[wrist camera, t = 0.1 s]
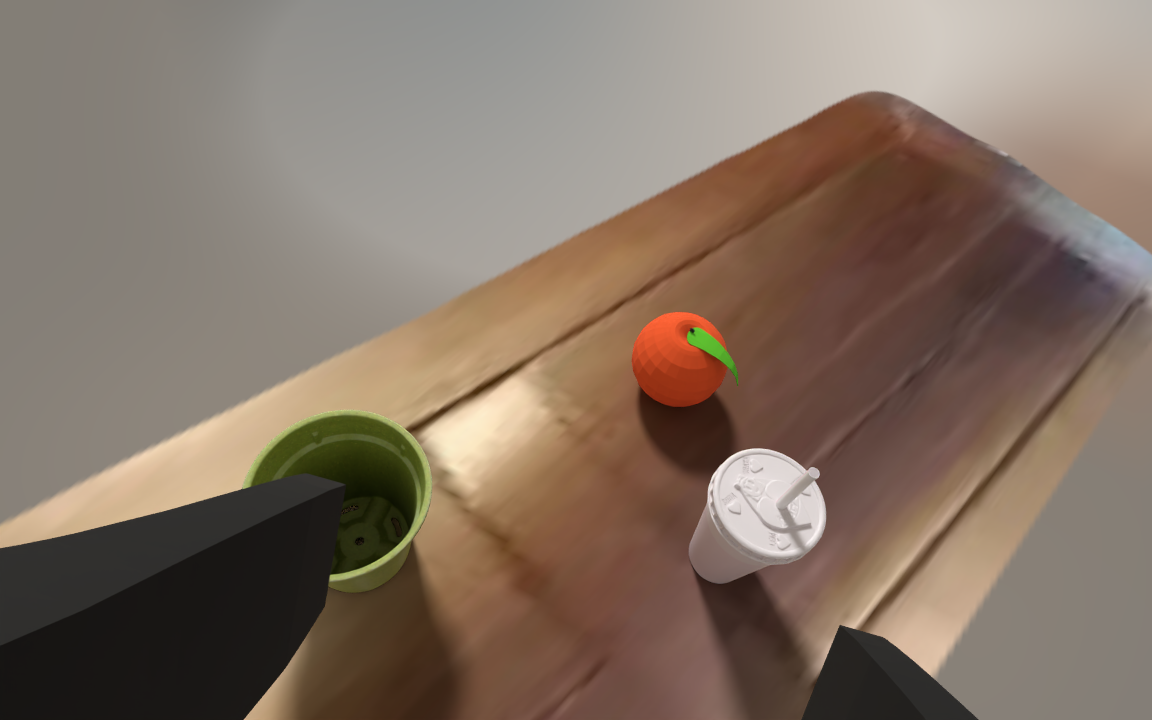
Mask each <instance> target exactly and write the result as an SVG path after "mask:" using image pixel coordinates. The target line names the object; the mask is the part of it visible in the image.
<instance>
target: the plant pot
mask: <svg viewBox="0 0 1152 720" xmlns="http://www.w3.org/2000/svg"><path fill="white" fill-rule="evenodd" d="M305 473H307V474H311V475H314V476H318V477H321V478H325V479H328V480H332V481H335V482H339V483H342V484H346V489H345V495H344V501H343V506H342V510H343V509H345V508H347V507H349V506H353V505H355V506H358V507H359V508H358V509H356V510H353V511H349V512H347V513H345V514H343V515H341V517H340V523H339V529H338V534H337V540H336V545H335V551H334V557H333V562H332V568H331V573H330V579H329V584H328V586H329V587H331V588H333V589H335V590H338V591H342V592H347V593H358V592H364V591H369V590H372V589H375V588H377V587H379V586H381V585H382V584H384V583H385V582H387V581H388V580H390V579H391V578H392V577H393V576H394V575H395V574H396V573H397V572H398V571H399V570H400V568H401V567H402V565H403V564H404V562H405V560H406V558H407V556H408V553H409V550H410V546H411V541H412V540H413V538H414V537H415V536H416V534H417V533H418V531H419V530H420V528H421V526H422V524H423V522H424V520H425V518H426V515H427V512H428V509H429V506H430V501H431V496H432V476H431V470H430V466H429V463H428V460H427V457H426V455H425V453H424V451H423V450H422V448H421V446H420V445H419V443H418V442H417V441H416V439H415V438H414V437H413V436H412V435H411V434H410V433H409V432H408V431H407V430H405V429H404V428H403V427H402V426H400V425H399V424H397V423H396V422H394V421H392V420H390V419H388V418H386V417H383V416H381V415H378V414H376V413H371V412H367V411H361V410H337V411H329V412H324V413H320V414H317V415H314V416H311V417H308V418H306V419H303V420H301V421H299V422H297V423H295V424H293V425H292V426H290V427H289V428H287V429H286V430H284V431H283V432H281V433H280V434H279V435H278V436H276V437H275V438H274V439H273V440H271V442H270V443H268V444H267V446H266V447H265V448H264V449H263V450H262V451H261V453H260V454H259V455H258V456H257V458H256V460H255V461H254V463H253V464H252V466H251V468H250V470H249V472H248V474H247V476H246V478H245V481H244V484H243V487H242V489H245V488H248V487H252V486H255V485H259V484H262V483H266V482H270V481H273V480H277V479H281V478H285V477H289V476H294V475H299V474H305ZM391 518H396V519H397V520H398V521H399V525H400V527H401V530H402V535H401V536H400V537H398V536H397V534H396V530H395V527H394V525H393V523H392V522H391ZM359 537H363V539H364V542H363V544H360V545H357V544H356V543H355V541H356V539H357V538H359Z"/></svg>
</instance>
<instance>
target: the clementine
mask: <svg viewBox="0 0 1152 720" xmlns="http://www.w3.org/2000/svg"><path fill="white" fill-rule="evenodd" d="M632 366H633V371H634V374H635V376H636V379H637V381H638V383H639V385H640V387H641V388H642V389H643V390H644V392H645V393H646V394H648V395H649V396H650V397H651V398H653V399H654V400H656V401H658V402H660V403H662V404H665V405H669V406H673V407H686V406H690V405H694V404H697V403H700V402H702V401H704V400H706V399H707V398H709V397H710V396H711V395H712V394H713V393H714V392H715V391H716V389H717V388H718V387H719V386H720V385H721V383H722V381H723V379H724V377H725V374H726V371H727V367H728V368H729V369H730V370H731V371H732V373H733V374H734V376H735V377H736V382H737V386H738V373H737V370H736V367H735V364H734V362H733V361H732V359H731V357H730V356H729V354H728V353H727V349H726V345H725V341H724V340H723V338H722V336H721V334H720V333H719V332H718V330H717V329H716V328H715V327H714V326H713V325H712V324H711V323H710V322H708V321H707V320H706V319H704V318H702V317H700V316H698V315H695V314H691V313H685V312H674V313H669V314H664V315H662V316H660V317H658V318H656V319H654V320H653V321H651V322H650V323H649V324H648V325H647V326H646V327H644V328H643V330H642V331H641V333H640V335H639V336H638V338H637V340H636V342H635V343H634V349H633V354H632Z"/></svg>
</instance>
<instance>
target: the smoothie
mask: <svg viewBox="0 0 1152 720" xmlns="http://www.w3.org/2000/svg"><path fill="white" fill-rule="evenodd" d="M819 475H820V474H819V471H818V470H817V469H816V468H813V467H812V468H810V469H809V470H808V471H806V470H805V469H804V468H803V467H802V466H801V465H799V464H798V463H797V462H796V461H794V460H793V459H791V458H789V457H787V456H785V455H783V454H781V453H778V452H776V451H772V450H767V449H747V450H743V451H740V452H738V453H736V454H734V455H732V456H731V457H729V458H728V459H727V460H726V461H725V462H724V463H723V464H722V465H720V466H719V468H718V469H717V470H716V472H715V473H714V474H713V476H712V478H711V481H710V484H709V487H708V502H707V505H706V507H705V509H704V512H703V514H702V516H701V519H700V521H699V523H698V526H697V528H696V530H695V533H694V535H693V538H692V540H691V542H690V545H689V558H690V561H691V564H692V566H693V568H694V569H695V571H696V572H697V573H698V574H699V575H700V576H701V577H702V578H704V579H705V580H707V581H709V582H712V583H717V584H724V583H728V582H731V581H733V580H735V579H738V578H740V577H742V576H745V575H747V574H750V573H752V572H754V571H757V570H759V569H762V568H764V567H766V566H769V565H775V564H788V563H790V562H793V561H795V560H798V559H800V558H802V557H803V556H804V555H805V554H806V553H807V552H809V551H810V550H811V549H812V548H813V547H814V546H815V545H816V544H817V542H818V541H819V539H820V538H821V536H822V534H823V531H824V528H825V523H826V509H825V503H824V499H823V496H822V494H821V491H820V489H819V487H818V486H817V484H816V482H815V480H816V479H817V478H818V477H819Z"/></svg>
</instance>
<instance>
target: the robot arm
mask: <svg viewBox="0 0 1152 720" xmlns="http://www.w3.org/2000/svg"><path fill="white" fill-rule="evenodd" d="M345 489H346V484H342V483H339V482H335V481H332V480H328V479H325V478H321V477H318V476H314V475H311V474H307V473H305V474H299V475H294V476H289V477H285V478H281V479H277V480H273V481H270V482H266V483H262V484H259V485H255V486H252V487H248V488H245V489H241V490H238V491H234V492H231V493H227V494H224V495H220V496H217V497H213V498H210V499H206V500H203V501H199V502H196V503H192V504H189V505H185V506H181V507H178V508H174V509H171V510H167V511H163V512H159V513H155V514H151V515H147V516H143V517H139V518H135V519H131V520H127V521H123V522H119V523H115V524H111V525H107V526H103V527H99V528H95V529H91V530H87V531H83V532H79V533H75V534H70V535H65V536H61V537H56V538H52V539H47V540H42V541H37V542H32V543H27V544H22V545H17V546H11V547H5V548H0V720H244V719H245V717H246V716H247V715H248V714H249V712H250V711H251V710H252V709H253V708H254V706H255V705H256V704H257V703H258V701H259V700H260V699H261V698H262V697H263V695H264V694H265V693H266V692H267V690H268V689H269V688H270V687H271V686H272V684H273V683H274V682H275V681H276V679H277V678H278V677H279V676H280V674H281V673H282V672H283V671H284V669H285V668H286V666H287V665H288V663H289V662H290V660H291V659H292V657H293V656H294V654H295V653H296V651H297V650H298V648H299V647H300V645H301V644H302V642H303V641H304V639H305V637H306V636H307V634H308V632H309V631H310V629H311V628H312V626H313V624H314V623H315V621H316V620H317V618H318V616H319V615H320V613H321V612H322V610H323V608H324V607H325V601H326V596H327V590H328V584H329V579H330V573H331V568H332V562H333V557H334V551H335V545H336V540H337V534H338V529H339V523H340V517H341V512H342V506H343V501H344V495H345ZM802 720H978V719H977V718H976V717H975V716H974V715H973V714H972V713H971V712H970V711H968V710H967V709H966V708H965V707H964V706H963V705H962V704H961V703H960V702H959V701H958V700H956V699H955V698H954V697H953V696H952V695H951V694H950V693H949V692H948V691H947V690H946V689H944V688H943V687H942V686H941V685H940V684H939V683H938V682H937V681H936V680H934V679H933V678H932V677H931V676H930V675H929V674H928V673H927V672H925V671H924V670H923V669H922V668H921V667H920V666H919V665H917V664H916V663H915V662H914V661H913V660H912V659H910V658H909V657H908V656H907V655H906V654H904V653H903V652H902V651H901V650H900V649H898V648H897V647H896V646H894V645H893V644H892V643H890V642H889V641H888V640H886V639H885V638H883V637H880V636H877V635H873V634H870V633H866V632H863V631H859V630H856V629H852V628H848V627H845V626H841V625H840V626H839V628H838V631H837V633H836V636H835V638H834V641H833V643H832V645H831V648H830V650H829V653H828V655H827V658H826V660H825V663H824V665H823V668H822V670H821V673H820V675H819V678H818V680H817V683H816V685H815V688H814V690H813V692H812V695H811V697H810V700H809V702H808V705H807V707H806V710H805V712H804V715H803V717H802Z"/></svg>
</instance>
